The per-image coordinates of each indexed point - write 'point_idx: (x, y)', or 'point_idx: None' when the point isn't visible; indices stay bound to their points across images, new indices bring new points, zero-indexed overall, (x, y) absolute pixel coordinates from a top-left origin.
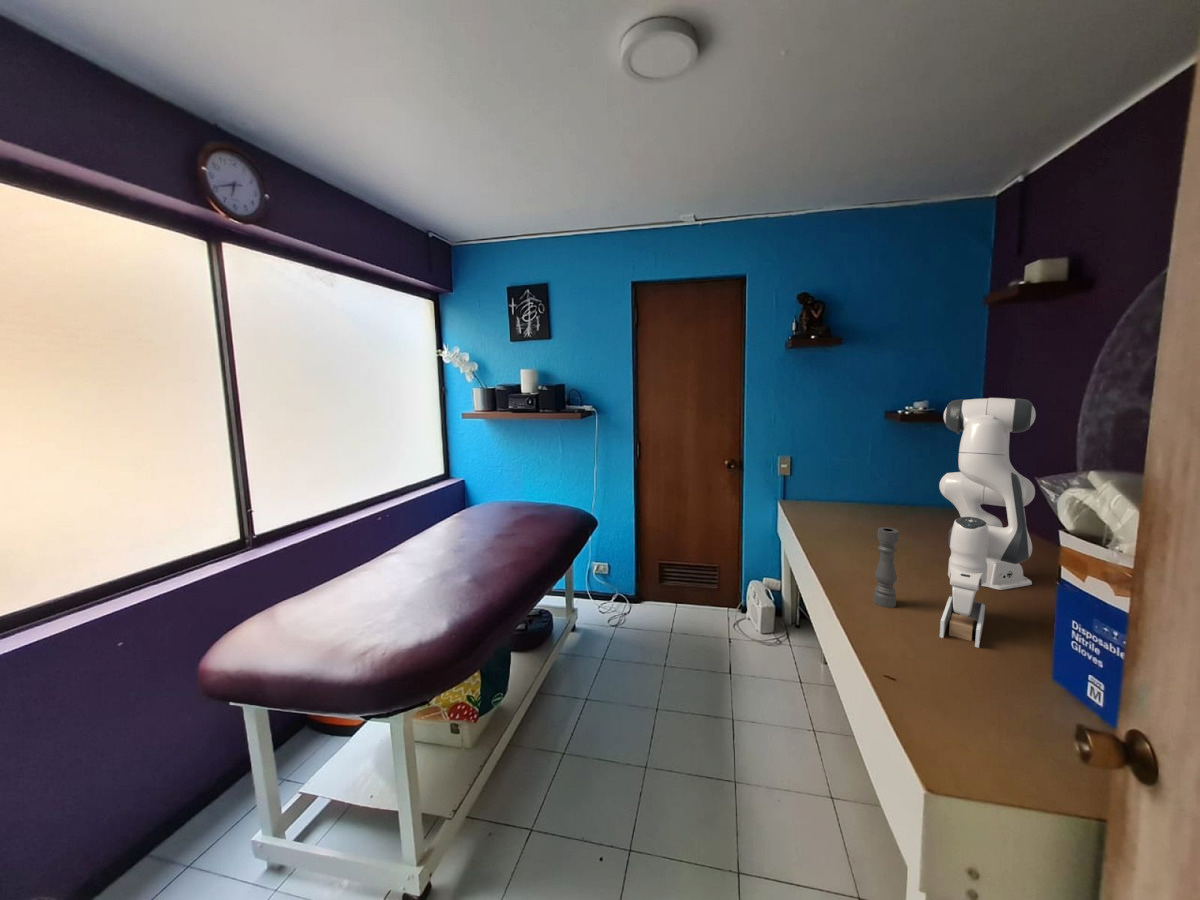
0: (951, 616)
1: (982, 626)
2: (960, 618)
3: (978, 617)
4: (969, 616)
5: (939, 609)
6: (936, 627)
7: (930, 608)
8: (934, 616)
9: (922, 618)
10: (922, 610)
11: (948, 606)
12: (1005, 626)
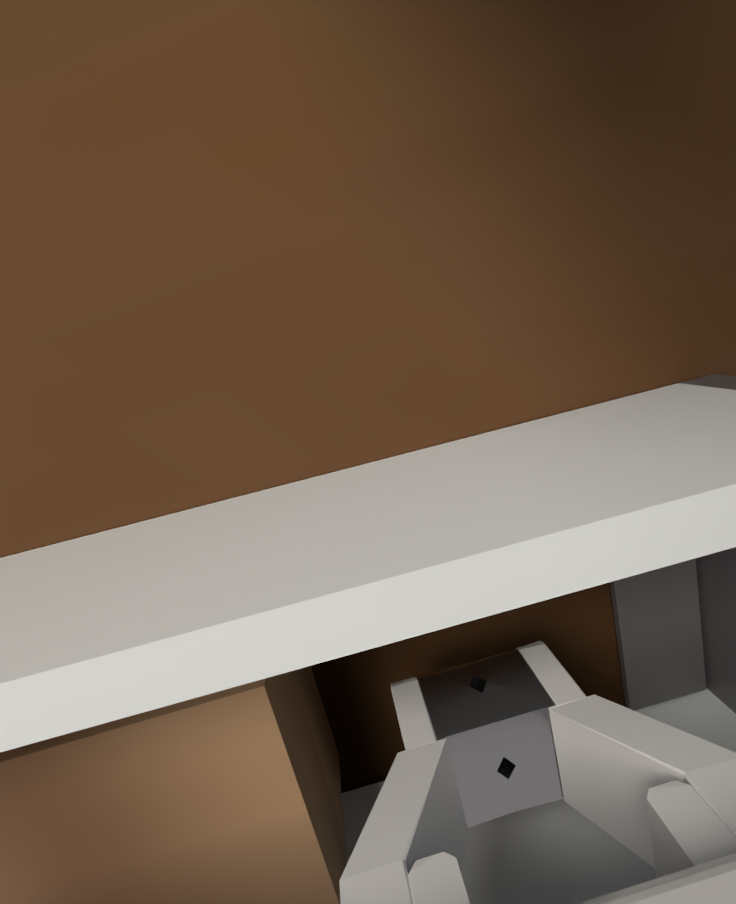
0: (91, 734)
1: None
2: (150, 845)
3: (716, 683)
4: (692, 603)
5: (674, 274)
6: (26, 479)
7: (620, 167)
8: (375, 319)
9: (148, 223)
10: (453, 104)
11: (337, 646)
12: None
